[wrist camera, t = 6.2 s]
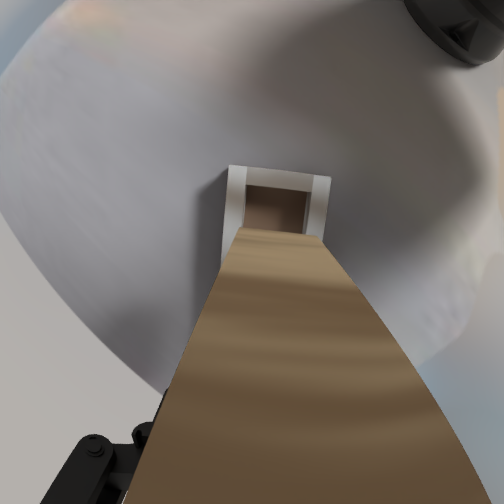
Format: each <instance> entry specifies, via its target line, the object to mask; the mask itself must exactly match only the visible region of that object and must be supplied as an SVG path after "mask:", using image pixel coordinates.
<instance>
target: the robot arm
mask: <svg viewBox="0 0 504 504" xmlns="http://www.w3.org/2000/svg"><path fill="white" fill-rule="evenodd" d="M404 2H405V5H406V7H407V8H408V10H409V12H410V13H411V15H412V16H413V18H414V19H415V21H416V22H417V23H418V25H419V26H420V27H421V28H422V29H423V31H424V32H425V33H426V34H427V35H428V36H429V37H430V38H431V39H432V40H433V41H434V42H435V43H436V44H438V45H439V46H440V47H441V48H442V49H444V50H445V51H446V52H448V53H449V54H451V55H452V56H454V57H456V58H457V59H459V60H461V61H464V62H466V63H469V64H475V65H479V64H483V63H486V62H489V61H491V60H493V59H495V58H496V57H497V56H498V55H499V54H500V52H501V51H502V50H503V49H504V0H404ZM168 389H169V388H168ZM168 389H166V391H165V393H164V395H163V398H162V401H161V403H160V405H159V408H158V410H157V412H156V415H155V417H154V419H153V422H145V423H142V424H139V425H138V426H137V427H135V429H134V430H133V432H132V438H133V441H134V443H133V444H112V443H111V442H110V441H109V440H108V439H107V438H105V437H104V436H102V435H97V434H91V435H87V436H85V437H83V438H82V439H81V440H80V441H79V442H78V444H77V445H76V447H75V449H74V450H73V451H72V453H71V454H70V456H69V458H68V459H67V461H66V462H65V464H64V465H63V467H62V469H61V470H60V472H59V473H58V475H57V477H56V478H55V480H54V481H53V483H52V485H51V486H50V488H49V490H48V491H47V493H46V494H45V496H44V498H43V499H42V501H41V503H40V504H121V503H122V501H123V499H124V497H125V494H126V492H127V491H128V489H129V487H130V484H131V481H132V479H133V476H134V474H135V471H136V468H137V466H138V463H139V461H140V458H141V456H142V453H143V450H144V448H145V445H146V443H147V440H148V438H149V435H150V433H151V430H152V428H153V425H154V423H155V420H156V418H157V416H158V413H159V411H160V408H161V406H162V403H163V401H164V398H165V396H166V394H167V391H168Z"/></svg>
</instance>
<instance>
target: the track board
mask: <svg viewBox="0 0 504 504" xmlns="http://www.w3.org/2000/svg"><path fill="white" fill-rule="evenodd" d="M330 185H331V177H327V176H320V175H314V174H307V173H299V172H292V171H284V170H275V169H267V168H257V167H247V166H236V165H229V171H228V181H227V192H226V203H225V215H224V227H223V240H222V253H221V266H222V264H223V262H224V260H225V257H226V255H227V253H228V251H229V248H230V246H231V244H232V242H233V240H234V237H235V235H236V233H237V231H238V229H239V227H243V228H253V229H262V230H271V231H280V232H289V233H297V234H306V235H314V236H317V237H318V238H319V239H320V240H321V241H323V235H324V228H325V222H326V215H327V208H328V200H329V193H330ZM220 268H221V267H220Z"/></svg>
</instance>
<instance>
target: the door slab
mask: <svg viewBox="0 0 504 504" xmlns="http://www.w3.org/2000/svg"><path fill="white" fill-rule="evenodd" d="M123 504H491V501H490V499H489V497H488V495H487V493H486V491H485V489H484V487H483V484H482V483H481V480H480V479H479V476H478V475H477V473H476V471H475V469H474V467H473V465H472V463H471V461H470V459H469V457H468V455H467V454H466V452H465V450H464V448H463V446H462V445H461V443H460V441H459V439H458V438H457V436H456V434H455V432H454V430H453V429H452V427H451V425H450V424H449V422H448V420H447V419H446V417H445V415H444V414H443V412H442V410H441V409H440V407H439V406H438V404H437V402H436V400H435V399H434V397H433V396H432V394H431V393H430V391H429V389H428V388H427V386H426V385H425V383H424V382H423V380H422V379H421V377H420V376H419V374H418V373H417V371H416V369H415V368H414V366H413V365H412V363H411V362H410V360H409V359H408V357H407V356H406V354H405V353H404V351H403V350H402V348H401V347H400V346H399V344H398V343H397V341H396V340H395V338H394V337H393V336H392V334H391V333H390V331H389V330H388V328H387V327H386V326H385V324H384V323H383V321H382V320H381V319H380V317H379V316H378V314H377V313H376V312H375V310H374V309H373V308H372V306H371V305H370V304H369V302H368V301H367V299H366V298H365V297H364V295H363V294H362V293H361V291H360V290H359V289H358V287H357V286H356V285H355V284H354V282H353V281H352V280H351V278H350V277H349V276H348V274H347V273H346V272H345V271H344V269H343V268H342V267H341V265H340V264H339V263H338V262H337V260H336V259H335V258H334V256H333V255H332V254H331V253H330V251H329V250H328V249H327V248H326V246H325V245H324V244H323V243H322V241H321V240H320V239H319V238H318V237H317V236H314V235H306V234H297V233H289V232H280V231H271V230H262V229H253V228H243V227H239V229H238V231H237V233H236V235H235V237H234V240H233V242H232V244H231V246H230V248H229V251H228V253H227V255H226V257H225V260H224V262H223V264H222V266H221V268H220V271H219V273H218V275H217V277H216V280H215V282H214V284H213V286H212V289H211V291H210V293H209V295H208V298H207V300H206V302H205V304H204V307H203V309H202V311H201V314H200V316H199V318H198V321H197V323H196V325H195V327H194V330H193V332H192V334H191V337H190V339H189V341H188V344H187V346H186V348H185V351H184V353H183V355H182V358H181V360H180V362H179V365H178V367H177V370H176V372H175V374H174V377H173V379H172V382H171V384H170V386H169V389H168V391H167V394H166V396H165V398H164V401H163V403H162V406H161V408H160V411H159V413H158V416H157V418H156V420H155V423H154V425H153V428H152V430H151V433H150V435H149V438H148V440H147V443H146V445H145V448H144V450H143V453H142V456H141V458H140V461H139V463H138V466H137V468H136V471H135V474H134V476H133V479H132V481H131V484H130V487H129V489H128V492H127V494H126V497H125V500H124V502H123Z"/></svg>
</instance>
